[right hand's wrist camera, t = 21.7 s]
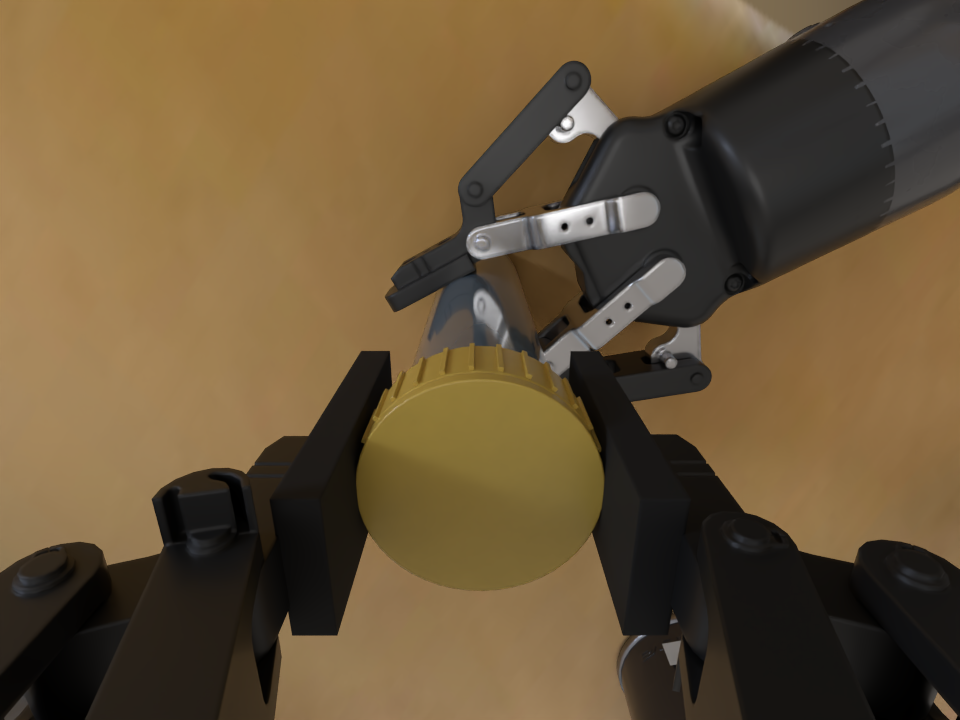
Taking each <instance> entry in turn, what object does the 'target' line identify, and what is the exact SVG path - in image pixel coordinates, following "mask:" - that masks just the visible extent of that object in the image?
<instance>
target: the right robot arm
mask: <svg viewBox="0 0 960 720" xmlns="http://www.w3.org/2000/svg"><path fill="white" fill-rule="evenodd" d="M569 384H570V386H571V389H572V391H573V393H574V395H575V396H576V398H577V397H579V396H580V398H581V400H582V402H583V404H584V407H585V409H586V411H587V414H588V416H589V418H590V421H591V423H592V426H593V429H594V431H595V434H596V436H597V439H598V441H599V443H600V446H601V452H600V456H601V459H602V462H603V468H604V474H605V481H604V492H603V502H602V509H601V513H600V516H599V519H598V521H597V523H596V525H595V527H594V529H593V531H592V534H593V537H594V540H595V544H596V547H597V550H598V554H599V557H600V560H601V564H602V567H603V570H604V574H605V577H606V580H607V584H608V587H609V590H610V594H611V597H612V600H613V604H614V607H615V610H616V614H617V617H618V620H619V624H620V627H621V630H622V634H623V635H668V632H669V627H670V621H671V615H672V609H673V611H674V614H675V616H676V618H677V621H678V623H679V625H680V628H681V630H682V637H681V643H680V648H679V654H678V659H677V665H676V670H675V676H674V682H673V690H672V691H676V692H680V687H681V682H682V690H683V699H684V707H685V716H686V720H949V719H948V718H947V717H946V716H945V715H944V714H943V713H942V712H941V711H940V709H939V708H938V707H937V706H936V705H935V703H934V699H935V697H936V695H937V692H938V693H939V694H940V695H941V696H942V698H943V699H944V700H945V701H946V702H947V703H948V705H949V706H950V707H951V708H952V709H953V710H954V712H955V713H956V714H957V715H958V716H957V718H956V720H960V569H958V568H957V567H955V566H954V565H952V564H951V563H950V562H948V561H947V560H945V559H944V558H941V557H939V556H937V555H935V554H933V553H931V552H929V551H927V550H926V549H923V548H921V547H918V546H915V545H914V546H913V545H911V544H907V543H903V542H898V541H889V540H875V541H869V542H866V543H865V544H864V545H862V546H861V547H860V548H859V550H858V553H857V556H856V559H855V562H854V563H850V562H845V561H841V560H836V559H831V558H826V557H822V556H817V555H812V554H809V553H805V552H801V551H799V550H798V548H797V546H796V544H795V543H794V542H793V540H792V539H791V538H790V536H789V535H788V534H787V533H786V532H785V531H783V530H782V529H781V528H779V527H778V526H776V525H775V524H774V523H772V522H769V521H767V520H765V519H763V518H761V517H758V516H756V515H751V514H747V513H745V512H744V511H743V510H742V508H741V507H740V506H739V504H738V503H737V502H736V500H735V499H734V498H733V496H732V495H731V494H730V492H729V491H728V490H727V488H726V487H725V486H724V484H723V483H722V482H721V480H720V479H719V478H718V476H715V472H714V471H713V470H712V468H711V467H710V466H709V464H706V460H705V459H704V458H703V456H702V455H701V454H700V452H699V451H698V450H697V448H696V447H695V446H693V445H692V444H690V443H689V442H687V441H686V440H684V439H683V438H681V437H680V436H678V435H677V434H650V433H649V431H648V429H647V428H646V426H645V424H644V423H643V421H642V420H641V418H640V416H639V415H638V413H637V412H636V410H635V408H634V407H633V405H632V404H631V402H630V400H629V399H628V397H627V395H626V394H625V392H624V391H623V389H622V387H621V386H620V384H619V383H618V381H617V379H616V378H615V376H614V375H613V373H612V371H611V370H610V368H609V366H608V365H607V363H606V362H605V360H604V358H603V357H602V355H601V354H600V352H599V351H571V352H570V368H569ZM391 387H392V378H391V363H390V351H361V352H360V354H359V356H358V357H357V359H356V361H355V362H354V364H353V365H352V367H351V369H350V370H349V372H348V373H347V375H346V377H345V378H344V380H343V382H342V383H341V385H340V386H339V388H338V390H337V391H336V393H335V394H334V396H333V398H332V399H331V401H330V402H329V404H328V406H327V407H326V409H325V411H324V412H323V414H322V415H321V417H320V419H319V420H318V422H317V423H316V425H315V427H314V428H313V430H312V431H311V433H310V435H309V436H284V437H282V438H281V439H279V440H277V441H276V442H274V443H273V444H271V445H270V446H268V447H267V448H265V450H264V451H263V452H262V454H261V455H260V456H259V458H258V459H257V460H256V462H255V465H254V466H252V467H251V468H250V470H249V471H248V472H247V474H245V473H243V472H242V471H239V470H235V469H231V468H212V469H207V470H202V471H197V472H193V473H191V474H188V475H185V476H183V477H180V478H178V479H175V480H174V481H172V482H171V483H169V484H168V485H166V486H164V487H163V488H161V489H160V490H159V491H158V493H157V494H156V495H155V496H154V497H153V498H152V502H153V506H154V509H155V513H156V517H157V521H158V525H159V528H160V532H161V536H162V540H163V544H164V547H163V549H162V551H161V553H160V554H157V555H153V556H149V557H145V558H140V559H136V560H131V561H126V562H121V563H117V564H112V565H107V564H106V561H105V558H104V555H103V552H102V550H101V549H100V548H98V547H97V546H96V545H95V544H90V543H84V542H75V543H66V544H60V545H55V546H51V547H50V548H45V549H42V550H39V551H37V552H35V553H33V554H31V555H29V556H27V557H25V558H23V559H21V560H19V561H17V562H15V563H14V564H12V565H11V566H10V567H8V568H7V569H5V570H4V571H2V572H1V573H0V720H274V717H275V709H276V700H277V691H278V683H279V674H280V666H281V650H280V643H279V637H278V634H279V631H280V629H281V627H282V624H283V622H284V620H285V617H286V615H287V613H289V619H290V625H291V631H292V635H338V631H339V628H340V625H341V621H342V618H343V615H344V611H345V608H346V605H347V601H348V598H349V595H350V591H351V588H352V585H353V581H354V578H355V575H356V571H357V568H358V565H359V561H360V558H361V555H362V551H363V548H364V545H365V541H366V538H367V535H368V530H367V528H366V526H365V525H364V522H363V520H362V517H361V514H360V512H359V508H358V499H357V489H356V470H357V465H358V461H359V457H360V454H361V452H362V449H363V447H364V443H361V440H362V438H363V435H364V433H365V431H366V428H367V426H368V424H369V421H370V419H371V416H372V414H373V412H374V409H377V406H378V404H379V402H380V399H381V397H382V394H383V392H384V390H385V389H388V390H389V389H390V388H391Z"/></svg>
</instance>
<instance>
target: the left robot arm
mask: <svg viewBox="0 0 960 720" xmlns="http://www.w3.org/2000/svg"><path fill="white" fill-rule="evenodd" d="M590 85H591V75H590V72H589V70H588V68H587V67H586V66H585V65H584V64H583V63H581V62H578V61H570V62H567V63H565V64H564V65H563V66H562V67H561V68H560V69H559V70H558V71H557V72H556V73H555V74H554V75H553V77H552V78H551V79H550V80H549V81H548V82H547V83H546V84H545V86H544V87H543V88H542V89H541V90H540V91H539V92H538V93H537V94H536V96H535V97H534V98H533V99H532V100H531V101H530V102H529V103H528V105H527V106H526V107H525V108H524V109H523V110H522V111H521V112H520V114H519V115H518V116H517V117H516V118H515V119H514V120H513V121H512V123H511V124H510V125H509V126H508V127H507V128H506V129H505V130H504V132H503V133H502V134H501V135H500V136H499V137H498V138H497V139H496V140H495V142H494V143H493V144H492V145H491V146H490V147H489V148H488V149H487V151H486V152H485V153H484V154H483V155H482V156H481V157H480V158H479V160H478V161H477V162H476V163H475V164H474V165H473V166H472V167H471V169H470V170H469V171H468V172H467V173H466V174H465V175H464V176H463V178H462V179H461V180H460V182H459V186H458V193H459V196H460V202H461V209H462V216H463V224H462V226H461V228H460V229H459V231H458V232H456V233H455V234H454V235H452V236H450V237H448V238H446V239H444V240H443V241H441V242H439V243H437V244H435V245H433V246H432V247H430V248H428V249H426V250H425V251H423V252H421V253H419V254H417V255H415V256H413V257H412V258H410V259H408V260H406V261H404V262H403V264H402V265H401V266H400V267H399V269H398V270H397V271H396V273H395V274H394V275H393V277H392V278H391V280H392V281H393V283H394V285H395V286H393V287H392V288H391V289H390V290H389V291H388V293H387V294H386V295H385V298H386V300H387V301H388V303H389V305H390V306H391V308H392V310H393V311H394V312H397V311H399V310H401V309H403V308H405V307H407V306H409V305H411V304H413V303H415V302H416V301H418V300H420V299H422V298H424V297H426V296H428V295H430V294H432V293H433V292H435V291H437V290H439V289H441V288H443V287H445V286H447V285H448V284H450V283H452V282H454V281H455V280H457V279H460V278H462V277H464V276H465V275H467V274H469V273H471V272H473V271H475V270H476V262H478V261H480V260H482V259H488V258H493V257H497V256H502V255H506V254H511V253H515V252H520V251H524V250H531V249H533V250H537V249H544V248H549V247H553V246H558V245H561V248H562V249H563V250H564V251H565V253H566V254H567V255H568V256H569V257H570V258H571V259H572V261H573V262H574V264H575V269H576V275H577V281H578V283H579V286H580V288H581V290H582V291H581V292H580V293H578V294H577V295H576V296H575V297H574V298H573V299H572V300H570V301H569V302H568V303H567V304H566V305H565V307H564V308H563V310H562V312H561V313H560V314H559V315H558V316H557V317H556V318H555V319H554V320H553V321H552V322H551V323H549V324H548V325H547V326H546V327H545V328H544V329H543V330H541V331H540V332H539V333H538V337H539V340H540V343H541V347H542V350H543V353H544V356H545V359H546V362H547V363H549V364H550V367H551V370H552V371H554V372H555V373H556V374H557V375H559V377H560V378H561V379H564V378H566V379H567V380H568V381H569V368H570V352H571V351H595V350H598V349H599V348H601V347H602V346H603V345H605V344H606V343H607V342H608V341H609V340H611V339H612V338H613V337H614V336H615V335H617V334H618V333H619V332H620V331H621V330H623V329H624V328H625V327H626V326H627V325H629V324H630V323H631V322H632V321H636V322H643V323H651V324H658V325H666V326H669V328H668V330H667V331H666V332H665V333H664V334H663V335H661V336H659V337H656V338H653V339H652V340H650V341H649V342H648V343H647V345H646V347H645V350H641V351H635V352H629V353H623V354H616V355H610V356H604V357H603V358H604V360H605V362H606V363H607V365H608V366H609V368H610V370H611V371H612V373H613V375H614V376H615V378H616V379H617V381H618V383H619V384H620V386H621V387H622V389H623V391H624V392H625V394H626V395H627V397H628V399H629V400H630V402H633V401H639V400H646V399H652V398H659V397H665V396H672V395H678V394H684V393H691V392H697V391H701V390H703V389H705V388H706V387H707V386H708V385H709V383H710V381H711V377H712V375H711V371H710V370H709V368H708V367H707V366H705V365H704V364H703V362H702V360H701V335H700V324H702V323H704V322H705V321H706V320H708V319H709V318H710V317H711V316H712V314H713V313H714V312H715V311H716V309H717V308H718V307H719V306H720V305H721V304H722V303H723V302H725V301H726V300H727V299H728V298H730V297H732V296H733V295H736V294H738V293H741V292H744V291H747V290H750V289H752V288H755V287H758V286H760V285H762V284H765V283H767V282H769V281H771V280H773V279H775V278H777V277H779V276H781V275H783V274H785V273H788V272H790V271H792V270H794V269H796V268H798V267H800V266H802V265H804V264H806V263H808V262H810V261H813V260H815V259H817V258H819V257H821V256H823V255H825V254H827V253H829V252H831V251H833V250H835V249H838V248H840V247H842V246H844V245H846V244H848V243H850V242H853V241H855V240H857V239H859V238H861V237H863V236H865V235H867V234H869V233H871V232H873V231H875V230H877V229H879V228H881V227H884V226H886V225H888V224H890V223H892V222H894V221H896V220H898V219H900V218H903V217H905V216H907V215H909V214H911V213H913V212H915V211H917V210H919V209H922V208H924V207H926V206H928V205H930V204H932V203H934V202H936V201H938V200H940V199H942V198H943V197H945V196H947V195H949V194H950V193H952V192H954V191H955V190H957V189H959V188H960V0H863V1H861V2H859V3H857V4H855V5H853V6H851V7H849V8H847V9H845V10H843V11H841V12H840V13H838V14H836V15H834V16H832V17H831V18H829V19H827V20H825V21H823V22H821V23H817V24H814V25H810V26H808V27H806V28H804V29H802V30H801V31H799V32H798V33H796V34H795V35H793V36H792V37H791V38H789V39H788V41H787V42H786V43H784V44H781V45H780V46H778V47H776V48H774V49H772V50H771V51H769V52H767V53H765V54H763V55H762V56H760V57H758V58H756V59H754V60H753V61H751V62H749V63H747V64H745V65H744V66H742V67H740V68H738V69H736V70H735V71H733V72H731V73H729V74H727V75H725V76H724V77H722V78H720V79H718V80H716V81H715V82H713V83H711V84H709V85H707V86H706V87H704V88H702V89H700V90H698V91H696V92H695V93H693V94H691V95H689V96H687V97H686V98H684V99H682V100H680V101H678V102H677V103H675V104H673V105H671V106H669V107H667V108H666V109H664V110H662V111H660V112H658V113H656V114H654V115H652V116H647V117H625V118H622V119H618V118H617V117H616V116H615V115H614V113H613V112H612V111H611V110H610V109H609V108H608V107H607V105H606V104H605V103H604V102H603V101H602V100H601V98H600V97H599V96H598V95H597V94H596V93H595V92H594V90H593V89H592V88H591V87H590ZM581 134H585V135H588V136H590V137H592V138H593V139H594V141H593V143H592V145H591V147H590V149H589V150H588V152H587V154H586V156H585V158H584V160H583V162H582V164H581V166H580V168H579V170H578V172H577V174H576V175H575V177H574V179H573V181H572V183H571V185H570V187H569V189H568V191H567V193H566V195H565V197H564V199H562V200H558V201H554V202H549V203H545V204H541V205H536V206H532V207H528V208H524V209H522V210H519V211H516V212H511V213H507V214H503V215H498V216H495V211H494V203H493V195H494V194H495V193H496V192H497V190H498V189H499V188H500V187H501V186H502V185H503V184H504V183H505V182H506V181H507V180H508V179H509V177H510V176H511V175H512V174H513V173H514V172H515V171H516V170H517V169H518V168H519V167H520V165H521V164H522V163H523V162H524V161H525V160H526V159H527V158H528V157H529V156H530V155H531V154H532V152H533V151H534V150H535V149H536V148H537V147H538V146H539V145H540V144H541V143H542V142H543V141H544V139H545V138H546V137H548V139H550V140H551V141H552V142H554V143H558V144H561V143H567V142H570V141H572V140H573V139H574V138H576V137H577V136H579V135H581ZM607 319H609V320H608V321H606V320H607ZM681 637H682V630H681V628H680V625H679V623H678V621H677V618H676V616H675V614H672V615H671V621H670V627H669V632H668V635H632V636H631V637H630V638H629V639H628V640H627V641H626V643H625V644H624V646H623V647H622V649H621V651H620V654H619V657H618V661H617V673H618V678H619V681H620V685H621V688H622V690H623V692H624V694H625V697H626V701H627V705H628V709H629V712H630V716H631V720H686V716H685V707H684V699H683V690H682V682H681V687H680V692H676V691H672V690H673V682H674V676H675V670H676V665H677V659H678V654H679V648H680V643H681Z"/></svg>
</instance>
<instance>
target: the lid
mask: <svg viewBox="0 0 960 720" xmlns="http://www.w3.org/2000/svg"><path fill="white" fill-rule="evenodd" d="M361 443H364V447H363V449H362V452H361V454H360V457H359V461H358V465H357V470H356V489H357V499H358V508H359V512H360V514H361V517H362V520H363V522H364V525H365V526H366V528H367V530H368V532H369V534H370V535H371V537H372V538H373V540H374V541H375V542H376V544H377V545H378V546H379V548H380V549H381V550H382V551H383V552H384V553H385V554H386V555H387V556H388V557H389V558H390V559H392V560H393V561H394V562H395V563H397V564H398V565H399V566H401V567H402V568H404V569H405V570H407V571H408V572H410V573H412V574H414V575H416V576H418V577H420V578H422V579H424V580H426V581H429V582H432V583H435V584H438V585H441V586H445V587H449V588H454V589H461V590H469V591H489V590H500V589H506V588H511V587H516V586H519V585H523V584H526V583H529V582H531V581H534V580H536V579H539V578H541V577H543V576H545V575H547V574H548V573H550V572H552V571H554V570H555V569H557V568H558V567H560V566H561V565H563V564H564V563H565V562H567V561H568V560H569V559H570V558H571V557H572V556H573V555H574V554H575V553H576V552H577V551H578V550H579V549H580V548H581V547H582V545H583V544H584V543H585V542H586V540H587V539H588V537H589V536H590V534H591V533H592V531H593V529H594V527H595V525H596V523H597V521H598V519H599V516H600V513H601V509H602V502H603V492H604V481H605V474H604V468H603V462H602V459H601V456H600V452H601V446H600V443H599V441H598V439H597V436H596V434H595V431H594V429H593V426H592V423H591V421H590V418H589V416H588V414H587V411H586V409H585V407H584V404H583V402H582V400H581V398H580V396H579V397H577V398H576V396H575V395H574V393H573V391H572V389H571V386H570V384H569V381H568V380H567V379H566V378H564V379H561V378H560V377H559V375H557V374H556V373H555V372H554V371H552V370H551V367H550V364H549V363H547V362H545V363H544V364H543V363H541V362H539V361H538V360H536V359H534V358H532V357H529V356H528V354H527V352H526V351H523V350H522V352H521V353H520V352H516V351H513V350H510V349H505V348H502V345H501V344H496V347H493V346H475V343H470V346H469V347H460V348H456V349H451V350H449V348H448V347H446V348H443V352H441V353H438V354H435V355H433V356H431V357H429V358H427V359H425V358H424V357H422V358H420V359H419V362H418V364H416V365H415V366H413V367H412V368H410V369H409V370H408V371H407V372H406V373H405V372H404V371H401V372H400V373H399V375H398V378H397V381H396V382H395V383H394V385H393V386H392V387H391V388H390V389H389V390H388V389H385V390H384V392H383V394H382V397H381V399H380V402H379V404H378V406H377V409H374V412H373V414H372V416H371V419H370V421H369V424H368V426H367V428H366V431H365V433H364V435H363V438H362V440H361Z"/></svg>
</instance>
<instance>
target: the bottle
mask: <svg viewBox="0 0 960 720" xmlns="http://www.w3.org/2000/svg"><path fill="white" fill-rule="evenodd" d="M470 343H475V346H493V347H496V344H501V345H502V348H505V349H510V350H513V351H516V352H520V353H521V352H522V350H523V351H526V352H527V354H528V356H529V357H532V358H534V359H536V360H538V361H539V362H541V363H543V364H544V363H545V362H546V359H545V356H544V353H543V350H542V347H541V343H540V340H539V337H538V334H537V331H536V328H535V325H534V322H533V319H532V316H531V313H530V310H529V307H528V304H527V301H526V298H525V295H524V292H523V289H522V286H521V283H520V280H519V277H518V274H517V271H516V268H515V266H514V264H513V262H512V261H511V260H510V258H509V257H508V256H507V255H502V256H497V257H493V258H488V259H482V260H480V261H478V262H476V270H475V271H473V272H471V273H469V274H467V275H465V276H464V277H462V278H460V279H457V280H455V281H454V282H452V283H450V284H448V285H447V286H445V287H443V288H441V289H439V290H437V293H436V296H435V299H434V302H433V305H432V308H431V311H430V314H429V317H428V320H427V323H426V326H425V329H424V333H423V336H422V339H421V342H420V345H419V348H418V351H417V354H416V357H415V360H414V363H413V366H415V365H416V364H418V362H419V359H420V358H422V357H424V358H425V359H427V358H429V357H431V356H433V355H435V354H438V353H441V352H443V348H446V347H448V348H449V350H451V349H456V348H460V347H469V346H470ZM413 366H412V367H413Z"/></svg>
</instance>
